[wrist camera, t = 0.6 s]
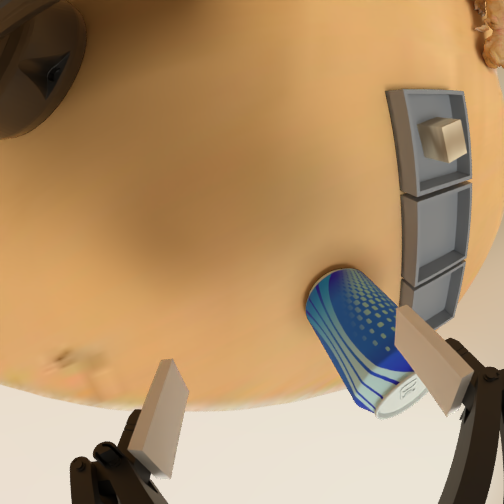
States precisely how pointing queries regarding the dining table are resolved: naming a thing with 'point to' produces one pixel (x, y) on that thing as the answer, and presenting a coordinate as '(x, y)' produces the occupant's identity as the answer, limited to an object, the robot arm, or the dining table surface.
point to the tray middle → (435, 231)
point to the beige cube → (442, 139)
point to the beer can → (363, 342)
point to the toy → (500, 21)
